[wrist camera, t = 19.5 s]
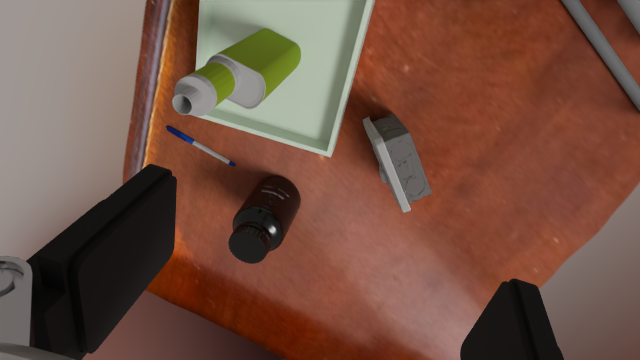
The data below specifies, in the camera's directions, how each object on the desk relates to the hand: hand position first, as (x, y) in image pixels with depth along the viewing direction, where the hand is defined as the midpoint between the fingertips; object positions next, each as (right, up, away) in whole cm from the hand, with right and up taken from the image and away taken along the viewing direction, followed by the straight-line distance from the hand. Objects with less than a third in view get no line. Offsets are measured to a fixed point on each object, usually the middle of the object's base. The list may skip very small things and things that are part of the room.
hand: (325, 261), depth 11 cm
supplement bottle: (-6, 0, +47) cm, 47 cm away
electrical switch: (+9, +7, +39) cm, 41 cm away
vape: (-5, +17, +36) cm, 40 cm away
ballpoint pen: (-16, +7, +46) cm, 49 cm away
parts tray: (-5, +17, +36) cm, 41 cm away
